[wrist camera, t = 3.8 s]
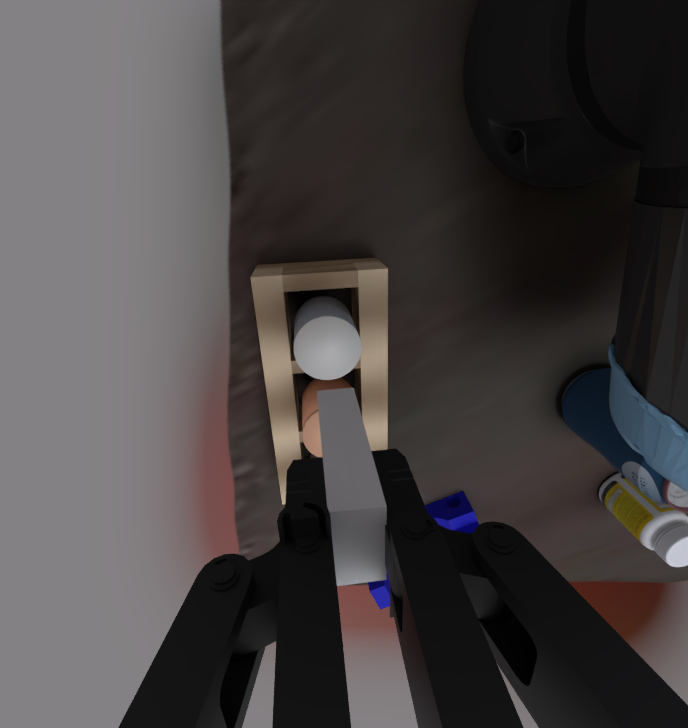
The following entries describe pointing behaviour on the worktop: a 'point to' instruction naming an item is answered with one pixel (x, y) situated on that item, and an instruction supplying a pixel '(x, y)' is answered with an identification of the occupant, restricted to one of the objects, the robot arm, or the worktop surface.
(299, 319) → the plunger
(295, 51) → the worktop surface
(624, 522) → the supplement bottle
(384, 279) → the button block
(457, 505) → the cable clip
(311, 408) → the plunger mid
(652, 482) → the soda can
